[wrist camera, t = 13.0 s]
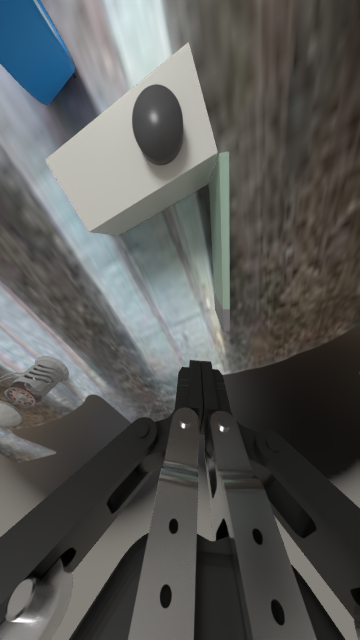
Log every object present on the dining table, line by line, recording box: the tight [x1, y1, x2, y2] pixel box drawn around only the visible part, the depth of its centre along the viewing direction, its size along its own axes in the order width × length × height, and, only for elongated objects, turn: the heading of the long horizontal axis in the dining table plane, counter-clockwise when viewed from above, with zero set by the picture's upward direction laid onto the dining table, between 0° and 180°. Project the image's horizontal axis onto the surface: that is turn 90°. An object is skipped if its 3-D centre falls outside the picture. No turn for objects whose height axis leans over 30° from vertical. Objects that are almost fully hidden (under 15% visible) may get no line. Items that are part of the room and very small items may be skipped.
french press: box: [0, 356, 69, 426], centre depth 35 cm, size 10×12×25 cm
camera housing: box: [45, 42, 218, 236], centre depth 21 cm, size 18×8×12 cm, turn 115°
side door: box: [209, 151, 230, 332], centre depth 26 cm, size 22×1×10 cm, turn 8°
